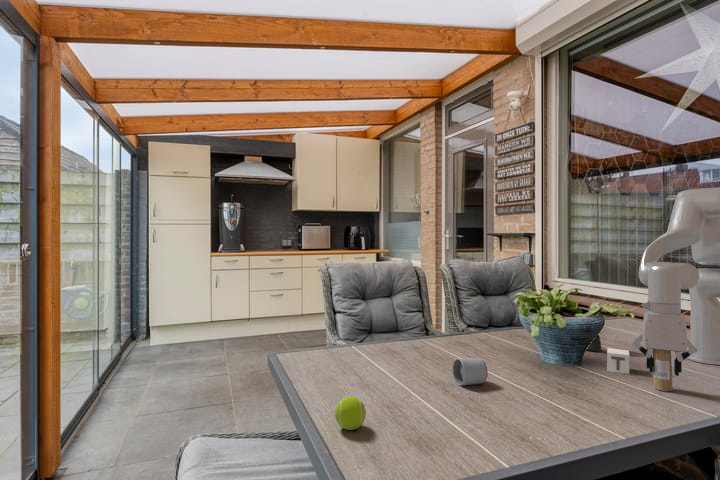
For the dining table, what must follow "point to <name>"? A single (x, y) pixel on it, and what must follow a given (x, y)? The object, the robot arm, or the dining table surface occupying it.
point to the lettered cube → (618, 360)
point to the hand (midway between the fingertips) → (663, 372)
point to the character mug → (596, 343)
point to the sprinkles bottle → (662, 370)
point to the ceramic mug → (469, 371)
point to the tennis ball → (350, 413)
